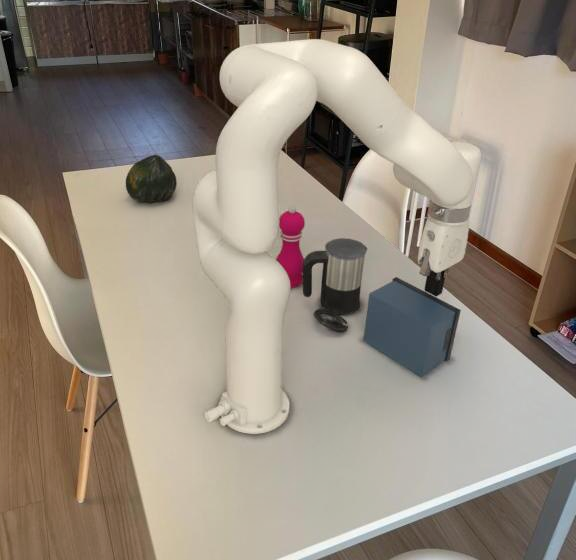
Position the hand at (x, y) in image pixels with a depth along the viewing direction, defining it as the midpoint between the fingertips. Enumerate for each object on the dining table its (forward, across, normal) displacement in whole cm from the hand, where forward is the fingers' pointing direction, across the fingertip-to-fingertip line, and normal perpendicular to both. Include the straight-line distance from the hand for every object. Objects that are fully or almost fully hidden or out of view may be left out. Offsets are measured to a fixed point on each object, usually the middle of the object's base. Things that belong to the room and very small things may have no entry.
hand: (432, 292), depth 117 cm
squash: (+12, -7, +98) cm, 99 cm away
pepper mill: (+12, -7, +35) cm, 38 cm away
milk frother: (+12, -8, +18) cm, 23 cm away
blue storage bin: (+11, -7, 0) cm, 13 cm away
